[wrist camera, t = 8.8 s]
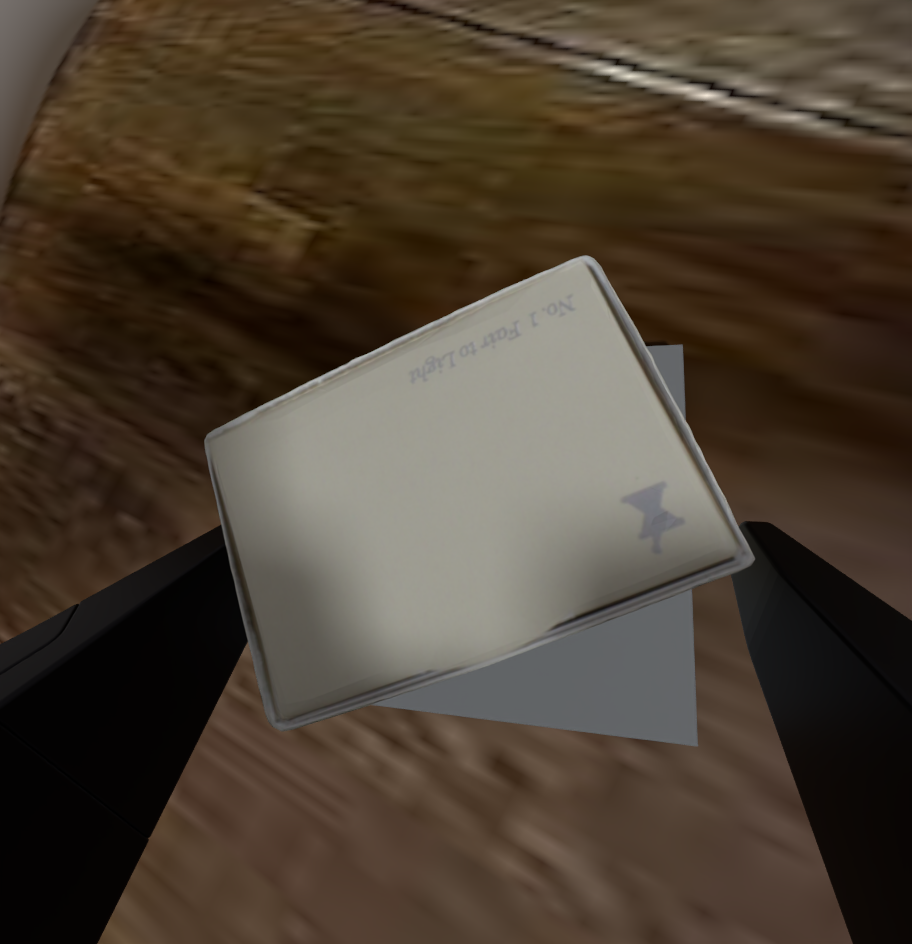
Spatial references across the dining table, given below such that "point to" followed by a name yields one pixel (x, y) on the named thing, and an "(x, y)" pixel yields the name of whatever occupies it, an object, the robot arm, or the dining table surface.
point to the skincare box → (463, 499)
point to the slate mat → (592, 664)
